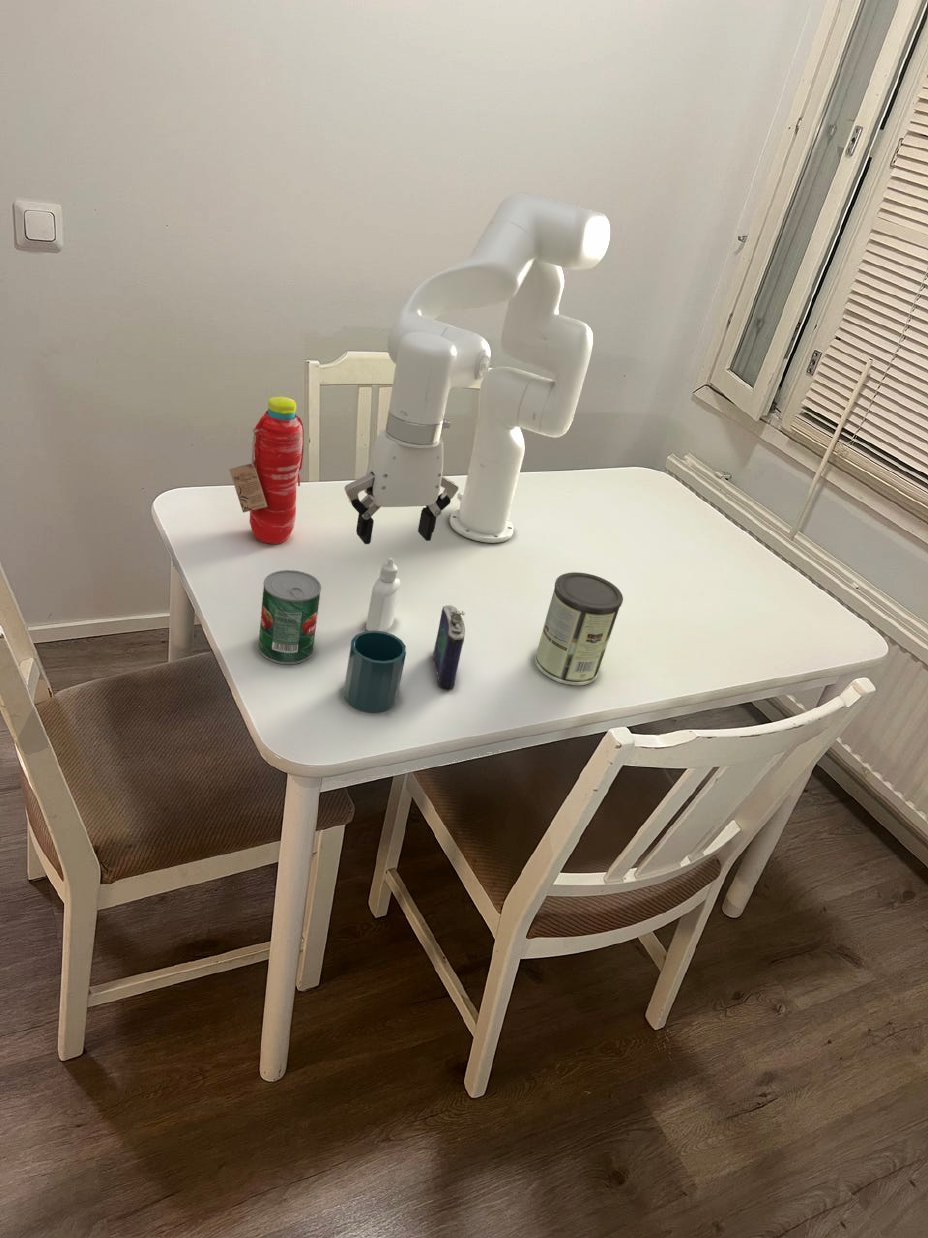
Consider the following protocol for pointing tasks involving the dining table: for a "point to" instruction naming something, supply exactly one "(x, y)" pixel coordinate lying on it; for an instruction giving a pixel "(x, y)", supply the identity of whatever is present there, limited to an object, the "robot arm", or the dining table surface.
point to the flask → (448, 646)
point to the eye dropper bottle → (384, 599)
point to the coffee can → (577, 628)
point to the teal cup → (374, 671)
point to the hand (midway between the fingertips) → (394, 538)
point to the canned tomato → (289, 616)
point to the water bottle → (272, 472)
